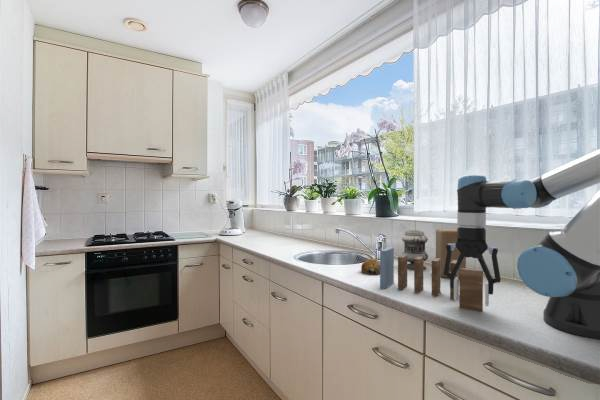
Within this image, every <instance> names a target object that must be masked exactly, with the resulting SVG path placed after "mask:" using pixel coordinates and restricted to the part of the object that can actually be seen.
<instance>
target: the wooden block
mask: <svg viewBox="0 0 600 400" xmlns="http://www.w3.org/2000/svg"><path fill="white" fill-rule="evenodd" d="M456 242H457V228H436V230H435V258H440V259H441V271H440V278H441V277H442V278H449V277H448V276H445V275H444V268H445V262H446V256H447V249H446V245H447V244H456ZM460 254H461V253H460V251H459V250H458V249H457V247H455V249H454V251H452V258H451V262H452V260H458V258H459V256H460ZM460 268H467V257H464V259H463V261H462V263H461V265H460V267H459V279H460ZM449 272H450V269H449ZM449 279H450V278H449Z"/></svg>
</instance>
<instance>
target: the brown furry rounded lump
mask: <svg viewBox="0 0 600 400" xmlns="http://www.w3.org/2000/svg"><path fill="white" fill-rule="evenodd" d="M360 267H361V269H360V270H361V273H363V274H365V275H372V276H375V275H376V276H377V275H380V260H378V259H376V258H368V259H366V260H365V261H363V263H362V264H361V266H360Z"/></svg>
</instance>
